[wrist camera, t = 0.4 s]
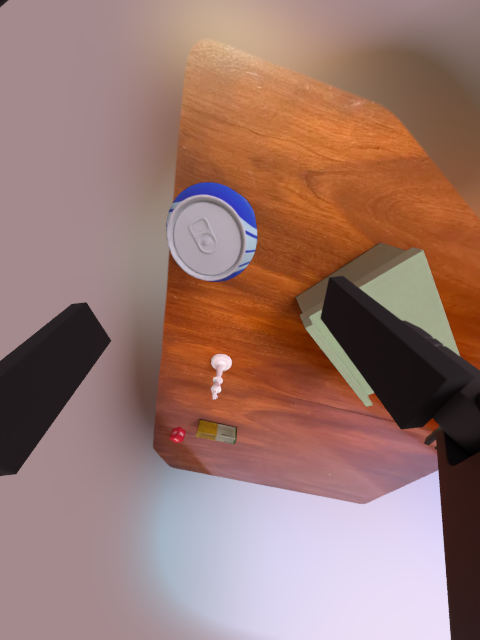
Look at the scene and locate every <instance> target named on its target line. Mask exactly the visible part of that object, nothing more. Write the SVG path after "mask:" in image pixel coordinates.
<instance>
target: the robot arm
mask: <svg viewBox="0 0 480 640" xmlns="http://www.w3.org/2000/svg"><path fill="white" fill-rule="evenodd" d="M320 319H321V320H322V321H323V323H324V324H325V325H326V327H327V328H328V330H329V331H330V332H331V334H332V335H333V336H334V338H335V339H336V341H337V342H338V343H339V345H340V346H341V347H342V349H343V350H344V352H345V353H346V354H347V356H348V357H349V358H350V360H351V361H352V363H353V364H354V365H355V367H356V368H357V369H358V371H359V372H360V374H361V375H362V376H363V378H364V379H365V380H366V382H367V383H368V385H369V386H370V387H371V389H372V390H373V391H374V393H375V394H376V396H377V397H378V398H379V400H380V401H381V402H382V404H383V405H384V407H385V408H386V409H387V411H388V412H389V413H390V415H391V416H392V418H393V419H394V420H395V422H396V423H397V425H398V426H399V427H400V429H409V428H417V427H423V426H424V425H425V424H426V423H427V422H428V421H429V420H431V419H432V418H433V419H434V420H435V421H436V422H437V423H438V424H439V425H440V426H439V427H438V428H437V429H436V430H435V431H433V432H432V433H431V434H430V435H429V436H428V437H426V439H425V442H424V443H425V444H427V445H429V444H431V443H432V442H433V441H434V440H436V442H437V446H436V447H435V449H437V455H438V469H439V481H440V482H439V483H440V496H441V510H442V522H443V536H444V551H445V563H446V577H447V591H448V605H449V618H450V631H451V640H480V371H479V370H478V369H477V368H475V367H474V366H473V365H471V364H470V363H468V362H467V361H466V360H464V359H463V358H462V357H460V356H459V355H457V354H456V353H455V352H453V351H452V350H450V349H449V348H448V347H446V346H443V344H442V343H441V342H439V341H438V340H437V339H435V338H434V339H433V336H431V335H430V334H428V333H427V332H426V331H424V330H423V329H422V328H420V327H418V326H416V325H414V324H412V323H409V322H407V321H402V320H400V319H399V318H398V317H396V316H395V315H394V314H392V313H391V312H390V311H389V310H387V309H386V308H385V307H383V306H382V305H381V304H379V303H378V302H377V301H375V300H374V299H373V298H372V297H370V296H369V295H368V294H366V293H365V292H364V291H362V290H361V289H360V288H358V287H357V286H356V285H354V284H353V283H352V282H351V281H349V280H348V279H347V278H345V277H344V276H337V277H329V280H328V285H327V290H326V294H325V299H324V304H323V308H322V313H321V318H320ZM110 342H111V340H110V338H109V337H108V335H107V333H106V332H105V330H104V329H103V328H102V326H101V324H100V323H99V321H98V320H97V318H96V317H95V315H94V313H93V312H92V310H91V309H90V307H89V306H88V304H87V303H78V304H71V305H70V306H69V307H68V308H67V309H65V310H64V311H63V312H61V313H60V314H59V315H58V316H56V317H55V318H54V319H52V320H51V321H50V322H49V323H47V324H46V325H45V326H44V327H42V328H41V329H40V330H39V331H37V332H36V333H35V334H34V335H32V336H31V337H30V338H29V339H27V340H26V341H25V342H24V343H22V344H21V345H20V346H18V347H17V348H16V349H15V350H14V351H12V352H11V353H10V354H8V355H7V356H6V357H5V358H3V359H2V360H1V361H0V476H4V475H13V474H17V472H18V471H19V469H20V468H21V467H22V465H23V464H24V462H25V461H26V460H27V458H28V457H29V455H30V454H31V452H32V451H33V450H34V448H35V447H36V446H37V444H38V443H39V441H40V440H41V438H42V437H43V436H44V434H45V433H46V431H47V430H48V428H49V427H50V426H51V424H52V423H53V422H54V420H55V419H56V417H57V416H58V414H59V413H60V412H61V410H62V409H63V407H64V406H65V405H66V403H67V402H68V401H69V399H70V398H71V396H72V395H73V394H74V392H75V391H76V389H77V388H78V387H79V385H80V384H81V382H82V381H83V380H84V378H85V377H86V375H87V374H88V372H89V371H90V370H91V368H92V367H93V365H94V364H95V363H96V361H97V360H98V359H99V357H100V356H101V354H102V353H103V351H104V350H105V349H106V347H107V346H108V344H109V343H110Z"/></svg>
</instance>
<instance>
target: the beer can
mask: <svg viewBox="0 0 480 640" xmlns="http://www.w3.org/2000/svg"><path fill="white" fill-rule="evenodd" d="M166 231H167V241H168V246H169V249H170V252H171V254H172V256H173V258H174V260H175V261H176V263H177V264H178V265H179V266H180V267H181V268H182V269H183V270H184V271H185V272H186V273H188V274H189V275H191V276H193V277H195V278H198V279H201V280H206V281H211V282H219V281H225V280H229V279H231V278H233V277H235V276H237V275H238V274H240V273H241V272H242V271H243V270H244V269H245V268H246V267H247V266H248V264H249V263H250V261H251V260H252V258H253V255H254V253H255V249H256V245H257V227H256V219H255V214H254V211H253V209H252V207H251V205H250V204H249V202H248V201H247V200H246V199H245V198H244V197H243V196H241V195H240V194H238V193H237V192H235V191H234V190H232V189H231V188H229V187H227V186H224V185H222V184H218V183H212V182H205V183H199V184H195V185H192V186H190V187H188V188H187V189H185V190H184V191H182V192H181V193H180V194H179V195H178V196H177V198H176V199H175V200H174V202H173V204H172V205H171V208H170V210H169V213H168V217H167V225H166Z"/></svg>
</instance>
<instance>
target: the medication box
mask: <svg viewBox="0 0 480 640" xmlns="http://www.w3.org/2000/svg"><path fill="white" fill-rule="evenodd" d="M196 437H200V438H205V439H210V440H215V441H220V442H226V443H231V444H235V442H236V438H237V427H231V426H226V425H222V424H217V423H212V422H208V421H203V420H199V424H198V428H197V433H196Z"/></svg>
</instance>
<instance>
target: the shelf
mask: <svg viewBox="0 0 480 640" xmlns="http://www.w3.org/2000/svg"><path fill="white" fill-rule="evenodd" d="M337 276H344V277H345V278H347V279H348V280H349V281H351V282H352V283H353V284H354V285H356V286H357V287H358V288H360V289H361V290H362V291H364V292H365V293H366V294H368V295H369V296H370V297H372V298H373V299H374V300H375V301H377V302H378V303H379V304H381V305H382V306H383V307H385V308H386V309H387V310H389V311H390V312H391V313H392V314H394V315H395V316H396V317H398V318H399V319H400V320H402V321H407V322H409V323H412V324H414V325H416V326H418V327H420V328H422V329H423V330H424V331H426V332H427V333H428V334H430V335H431V336H433V339H434V338H435V339H437V340H438V341H439V342H441V343H442V344H443V346H446V347H448V348H449V349H450V350H452V351H453V352H455V353H456V354H457V355H459V352H458V349H457V346H456V343H455V341H454V338H453V335H452V332H451V329H450V326H449V323H448V320H447V317H446V314H445V312H444V309H443V306H442V303H441V300H440V297H439V294H438V291H437V288H436V285H435V282H434V280H433V277H432V274H431V271H430V268H429V265H428V262H427V259H426V256H425V253H424V250H421V249H417V248H414V247H412V248H410V249H409V250H407V251H406V250H403V249H400V248H396V247H393V246H390V245H387V244H383V243H379V244H378V245H376V246H374V247H373V248H371V249H370V250H368V251H367V252H365V253H364V254H362V255H361V256H359V257H357V258H356V259H354V260H353V261H351V262H350V263H348V264H347V265H345V266H344V267H342V268H340V269H339V270H337V271H336V272H334V273H333V274H331V275H330V276H328V277H326V278H325V279H323V280H322V281H320V282H319V283H317V284H316V285H314V286H313V287H311V288H309V289H308V290H306V291H305V292H303V293H302V294H300V295H299V296H297V297H296V300H297V302H298V304H299V306H300V309H301V311H302V314H301V315H300V317H301V320H302V322H303V324H304V327H305V329H306V330H307V332H308V333H309V334H310V335H311V337H312V338H313V339H314V341H315V342H316V343H317V344H318V346H319V347H320V348H321V350H322V351H323V352H324V353H325V355H326V356H327V357H328V358H329V360H330V361H331V362H332V364H333V365H334V366H335V367H336V369H337V370H338V371H339V373H340V374H341V375H342V376H343V378H344V379H345V380H346V381H347V383H348V384H349V385H350V387H351V388H352V389H353V390H354V392H355V393H356V394H357V396H358V397H359V398H360V399H361V401H362V402H363V403H364V405H365V406H366V407H368V406H371V405H373V404H372V402H371V400H370V399H369V397H368V395H370V394H372V393H374V391H373V390H372V389H371V387H370V386H369V385H368V383H367V382H366V380H365V379H364V378H363V376H362V375H361V374H360V372H359V371H358V369H357V368H356V367H355V365H354V364H353V363H352V361H351V360H350V358H349V357H348V356H347V354H346V353H345V352H344V350H343V349H342V347H341V346H340V345H339V343H338V342H337V341H336V339H335V338H334V336H333V335H332V334H331V332H330V331H329V330H328V328H327V327H326V325H325V324H324V323H323V321H322V320H321V319H320V318H321V313H322V308H323V304H324V299H325V294H326V290H327V285H328V280H329V277H337ZM459 356H460V355H459Z"/></svg>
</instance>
